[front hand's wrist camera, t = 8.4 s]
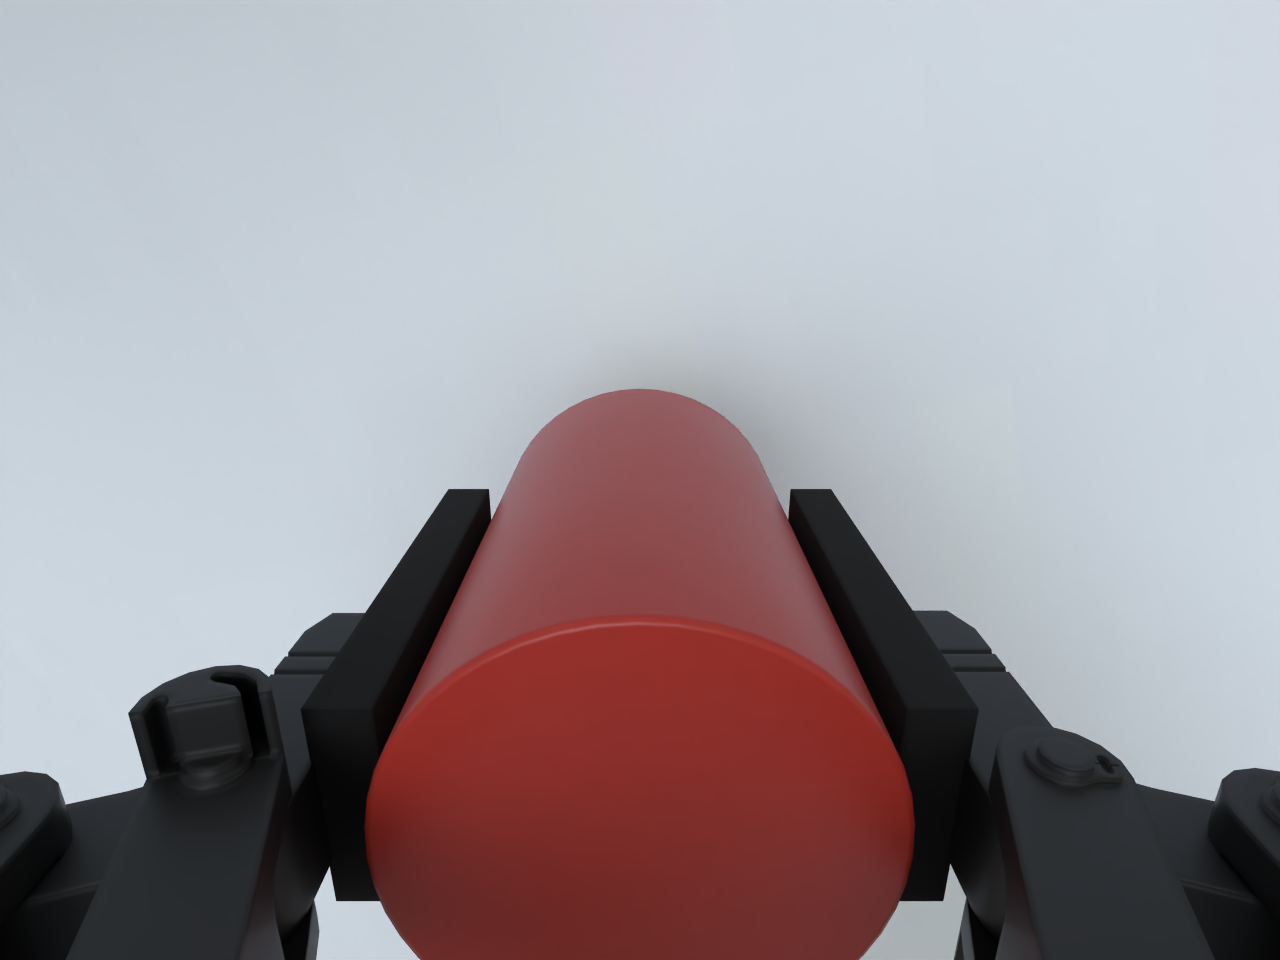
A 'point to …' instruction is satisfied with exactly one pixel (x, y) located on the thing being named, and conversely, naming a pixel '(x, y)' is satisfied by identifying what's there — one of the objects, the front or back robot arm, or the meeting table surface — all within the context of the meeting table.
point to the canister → (639, 721)
